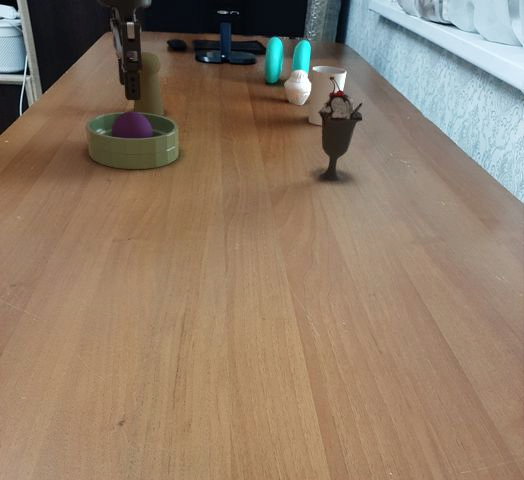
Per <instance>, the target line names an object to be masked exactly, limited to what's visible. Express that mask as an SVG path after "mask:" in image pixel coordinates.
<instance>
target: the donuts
mask: <svg viewBox="0 0 524 480" xmlns="http://www.w3.org/2000/svg"><path fill="white" fill-rule="evenodd" d="M266 45H267V46H266V48H265V49H266V50H265V58H264V79H265V80H266V82H267V83H269V84H274V83H277V82H278V80H280V77H281V75H282V71H283V65H284V53H285V52H284V51H285V50H284V44H283V42H282V40H281V39H280V38H279V37H277V36H273V37H271V38H270V39H269V40H268V42H267V44H266ZM311 47H312V46H311V44H310V42H309V41H308V40H306V39H302V40H300V41H299V42H298V43H297V44H296V46H295V48H294V50H293V56H292V62H291V63H292V64H291V73H292V72H293V71H295V70H299V69H300V70H303V71H305V72H306V73H307V77H308V76H309V69H310V61H311V51H312V50H311Z"/></svg>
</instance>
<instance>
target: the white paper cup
mask: <svg viewBox="0 0 524 480" xmlns="http://www.w3.org/2000/svg"><path fill="white" fill-rule="evenodd" d="M346 75H347V70H345V69H343V68H340V67H336V66H328V65H318V66H313V67H312V69H311V81H310V83H311V92H310V95H309V107H308V122H309V123H310V124H312V125H316V126H321V127H322V118H321V116H320V114H319V113H318V112H319V111H320V110H322V107H323V106H324V103H326V102H327V101H328V100H329V99H330V98H329V94H330V93H332V92H333V90H334V83H335V91H334V92H335V93H336V92H337V91H339V89H340V90H342V91H343V92H344V86H345V81H346ZM330 77H334V80H335V81H336V82H337V84H338V86H339V89H338V87H337V85H336V82H335V81H334V80H333V79H332V80H333V82H334V83H333V82H332V81H331V80H330Z"/></svg>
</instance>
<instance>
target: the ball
mask: <svg viewBox="0 0 524 480" xmlns="http://www.w3.org/2000/svg"><path fill="white" fill-rule="evenodd" d="M124 112H125V113H123V114H121V115H119V116H118V117H117V118H116V120H115V121H114V123H113V126H112V137H119V138H138V139H140V138H151V137H153V131H152V127H151V125H150V123H149V121H148V120H147V119H146V118H145V117H144V116H143V115H141V114H139V113H137V112H133V111H124Z"/></svg>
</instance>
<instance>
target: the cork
mask: <svg viewBox="0 0 524 480" xmlns="http://www.w3.org/2000/svg"><path fill="white" fill-rule="evenodd" d="M132 59H133V61H136V60H135V58H134V57H133V58H132ZM141 59H142V64H143V68H142V71H141V72H140V91H141V98H140V100H133V111H132V112H141V113H149V114H155V115H160V116H164V115H165V110H164V105H163V98H162V91H161V83H160V79H159V72H160V71H161V60H160V58H159V56H158V55H157V54H155V53H152V52H146V51H142V55H141Z"/></svg>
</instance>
